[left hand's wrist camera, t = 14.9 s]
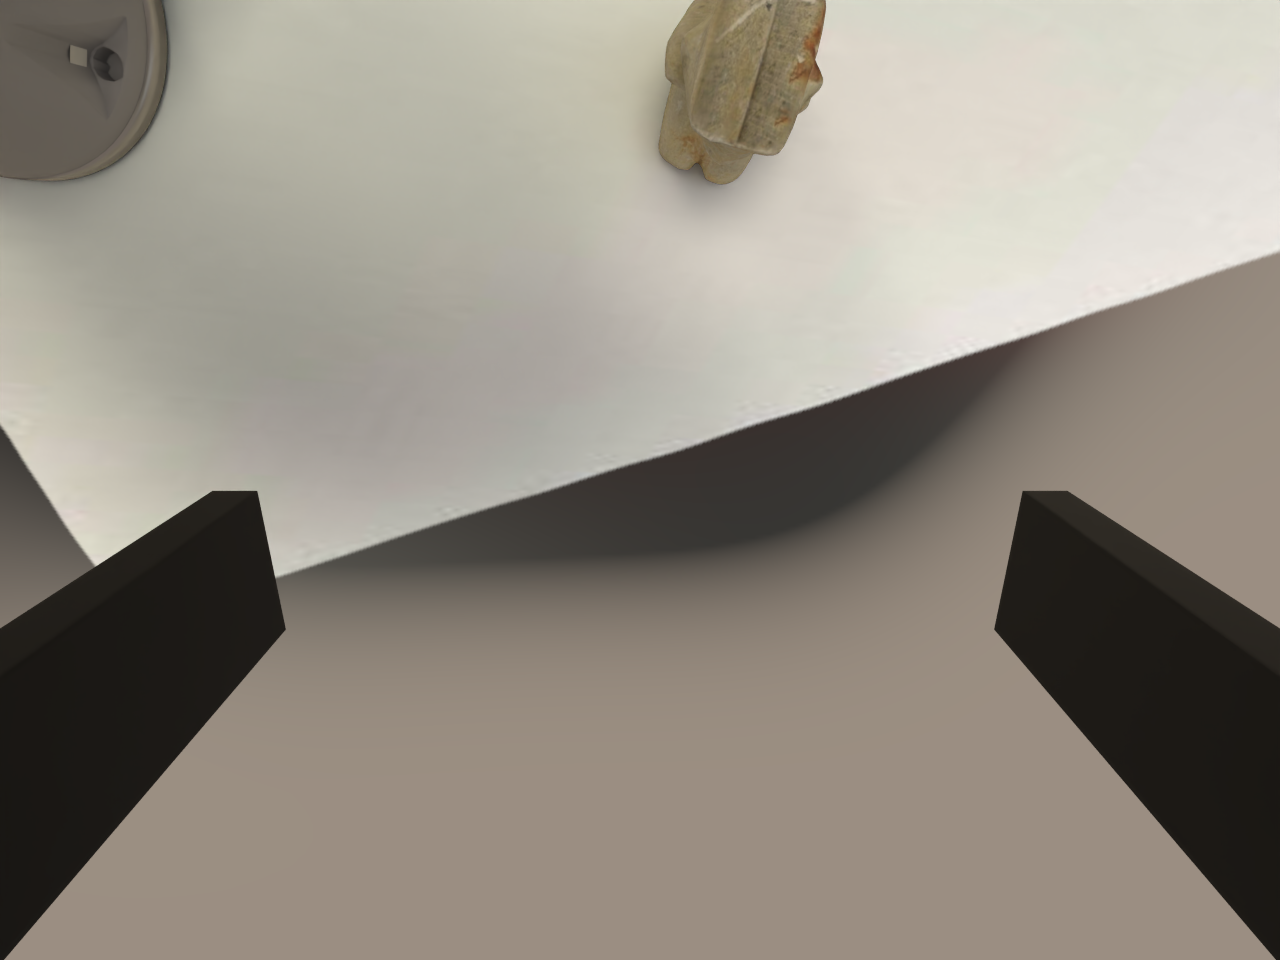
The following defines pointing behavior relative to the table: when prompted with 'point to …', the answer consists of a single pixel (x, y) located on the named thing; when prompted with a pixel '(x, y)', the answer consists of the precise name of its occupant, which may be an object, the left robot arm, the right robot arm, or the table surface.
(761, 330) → the table surface
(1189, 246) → the table surface
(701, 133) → the sculpture
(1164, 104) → the table surface
